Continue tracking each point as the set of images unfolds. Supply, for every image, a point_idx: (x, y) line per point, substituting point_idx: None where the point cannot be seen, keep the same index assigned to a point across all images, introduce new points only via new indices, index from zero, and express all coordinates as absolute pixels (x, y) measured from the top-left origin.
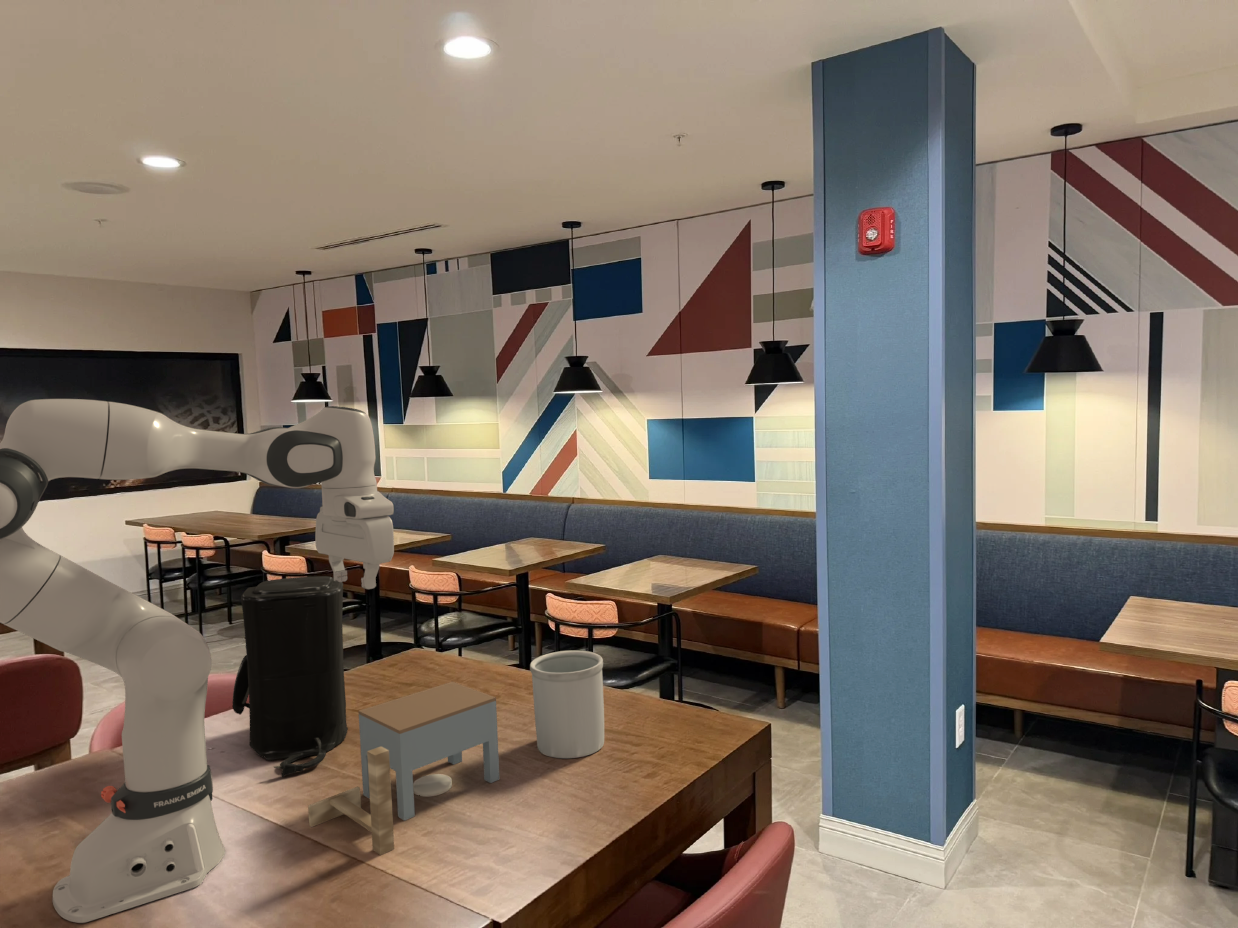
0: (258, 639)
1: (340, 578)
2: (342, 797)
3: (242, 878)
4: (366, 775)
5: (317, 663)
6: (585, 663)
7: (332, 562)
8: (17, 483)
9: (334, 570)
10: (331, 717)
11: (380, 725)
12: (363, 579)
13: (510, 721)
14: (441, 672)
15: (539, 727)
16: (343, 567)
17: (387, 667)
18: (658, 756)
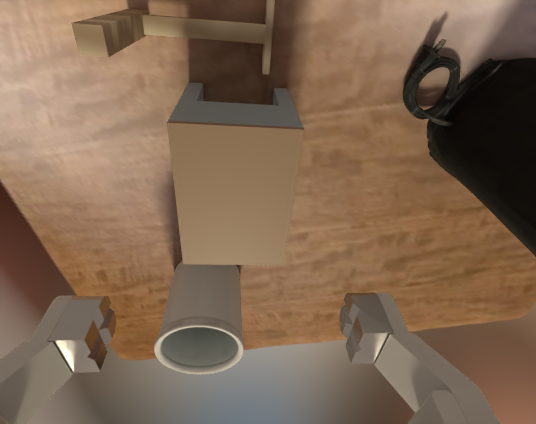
0: None
1: (349, 311)
2: (258, 41)
3: None
4: (278, 96)
5: (519, 186)
6: (211, 358)
7: (440, 384)
8: None
9: (397, 338)
10: (451, 155)
11: (231, 123)
12: (59, 334)
13: (298, 274)
14: (457, 301)
15: (211, 271)
16: (387, 375)
17: (529, 283)
18: (129, 297)
